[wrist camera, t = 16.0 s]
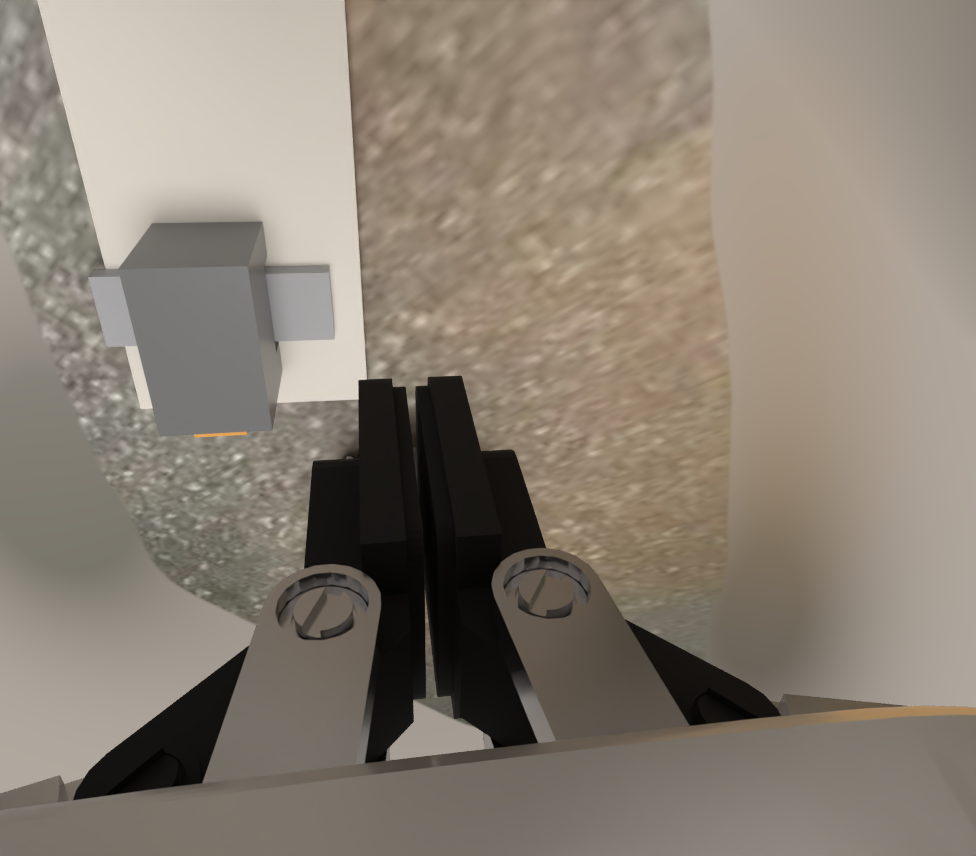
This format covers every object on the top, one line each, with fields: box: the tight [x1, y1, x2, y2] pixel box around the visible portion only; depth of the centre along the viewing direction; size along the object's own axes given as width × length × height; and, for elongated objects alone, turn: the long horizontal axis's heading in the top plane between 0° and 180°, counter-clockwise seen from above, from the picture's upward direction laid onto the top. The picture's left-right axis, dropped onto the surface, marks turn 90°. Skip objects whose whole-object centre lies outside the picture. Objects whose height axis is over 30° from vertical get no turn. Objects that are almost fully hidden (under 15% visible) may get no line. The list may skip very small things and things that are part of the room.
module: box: [118, 222, 282, 437], centre depth 35 cm, size 5×9×6 cm, turn 178°
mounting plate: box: [37, 0, 367, 409], centre depth 34 cm, size 12×22×2 cm, turn 178°
